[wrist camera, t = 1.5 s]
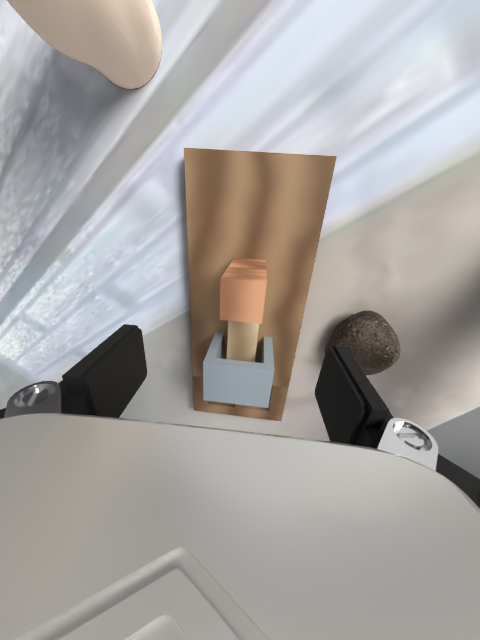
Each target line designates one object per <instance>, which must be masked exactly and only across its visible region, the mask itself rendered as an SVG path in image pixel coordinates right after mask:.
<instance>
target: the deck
mask: <svg viewBox="0 0 480 640" xmlns="http://www.w3.org/2000/svg"><path fill="white" fill-rule="evenodd" d="M335 161H336V156H320V155H302V154H284V153H266V152H249V151H231V150H213V149H195V148H184V162H185V189H186V216H187V242H188V269H189V296H190V323H191V349H192V376H193V403H194V410H196V411H204V412H212V413H220V414H228V415H236V416H244V417H252V418H260V419H268V420H276V421H281V419H282V414H283V410H284V405H285V400H286V395H287V391H288V386H289V381H290V376H291V371H292V367H293V362H294V357H295V352H296V348H297V343H298V338H299V333H300V328H301V324H302V319H303V314H304V309H305V305H306V300H307V295H308V290H309V285H310V281H311V276H312V271H313V266H314V262H315V257H316V252H317V247H318V242H319V238H320V233H321V228H322V223H323V219H324V214H325V209H326V204H327V199H328V195H329V190H330V185H331V180H332V176H333V171H334V166H335ZM234 258H245V259H256V260H266V275H267V286H266V294H265V302H264V311H263V319H262V324H259V330H258V339H257V347H256V356H255V362H257V363H261V355H262V347H263V340H264V337H272V344H273V358H274V376H273V382H272V388H271V394H270V400H269V406H268V408H263V407H255V406H247V405H239V404H230V403H222V402H214V401H206V400H204V399H203V362H204V359H205V357H206V354H207V352H208V349H209V347H210V344H211V342H212V339H213V337H214V335H215V332H224V336H223V359H227V341H228V321H227V320H220V283H221V277H222V275H223V274H224V272H225V271H226V269H227V268H228V266H229V265H230V263H231V262H232V260H233V259H234Z"/></svg>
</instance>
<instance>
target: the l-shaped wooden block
mask: <svg viewBox="0 0 480 640" xmlns="http://www.w3.org/2000/svg"><path fill="white" fill-rule="evenodd" d="M266 286H267V275H266V260H256V259H245V258H234V259H233V260H232V262H231V263H230V265H229V266H228V268H227V269H226V271H225V272H224V274H223V275H222V277H221V283H220V320H227V321H228V341H227V359H230V360H239V361H248V362H255V356H256V347H257V339H258V330H259V324H262V319H263V311H264V302H265V294H266Z"/></svg>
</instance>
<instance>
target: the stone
mask: <svg viewBox="0 0 480 640" xmlns="http://www.w3.org/2000/svg"><path fill="white" fill-rule="evenodd" d="M332 345H340V346H345V347H346V348H347V349H348V351H349V352H350V353H351V355H352V356H353V358H354V359H355V361H356V362H357V364H358V365H359V367H360V368H361V370H362V371H363V373H364V374H365V375H373V374H377V373H379V372H382V371H384V370H386V369H387V368H389V367H390V366H392V365H393V364H394V363H395V362H396V361H397V360H398V358H399V355H400V345H399V340H398V338H397V335H396V334H395V332H394V330H393V329H392V327H391V326H390V325H389V323H388V322H387V321H386V320H385V319H384V318H383V317H382V316H381V315H379V314H378V313H376V312H373V311H362V312H359V313H357V314H355V315H352V316H351V317H349V318H348V319H346V320H344V321H343V322H342V324H341V325H340V326H339V327H338V328H337V329H336V331H335V332H334V334H333V337H332V339H331V342H330V343H329V345H328V346H327V347H326V349H325V353H326V351H327V348H328V347H331V346H332Z"/></svg>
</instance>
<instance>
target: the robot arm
mask: <svg viewBox="0 0 480 640" xmlns="http://www.w3.org/2000/svg"><path fill="white" fill-rule="evenodd" d="M146 376H147V367H146V360H145V352H144V345H143V337H142V331H141V329H139V328H138V326H136V325H126V324H125V325H123V326H122V327H120V328H119V329H118V330H117V331H116V332H114V333H113V334H112V335H111V336H110V337H108V338H107V339H106V340H105V341H104V342H102V343H101V344H100V345H99V346H98V347H96V348H95V349H94V350H93V351H92V352H90V353H89V354H88V355H87V356H86V357H84V358H83V359H82V360H81V361H80V362H78V363H77V364H76V365H75V366H73V367H72V368H71V369H70V370H69V371H67V372H66V373H65V374H64V375H63V376H62V378H63V380H62V381H61V382H60V383H57V382H54V381H42V382H38V383H34V384H31V385H28V386H26V387H24V388H22V389H20V390H19V391H17V392H16V393H14V394H13V395H12V396H11V397H10V399H9V400H8V402H7V406H6V408H4V409H1V410H0V640H480V479H478V478H477V477H475V476H473V475H472V474H470V473H468V472H467V471H465V470H464V469H462V468H460V467H459V466H457V465H455V464H454V463H452V462H450V461H449V460H447V459H446V458H444V457H442V456H441V455H439V454H438V445H437V443H436V441H435V439H434V438H433V437H432V436H431V435H430V434H429V433H428V432H427V431H426V430H425V429H424V428H422V427H421V426H419V425H418V424H416V423H414V422H412V421H409V420H407V419H403V418H393V416H392V415H391V413H390V412H389V409H388V408H387V406H386V405H385V403H384V402H383V400H382V399H381V397H380V396H379V395H378V393H377V392H376V390H375V389H374V387H373V386H372V384H371V383H370V381H369V380H368V378H367V377H366V375H365V374H364V373H363V371H362V370H361V368H360V367H359V365H358V364H357V362H356V361H355V359H354V358H353V356H352V355H351V353H350V352H349V351H348V349H347V348H346V347H345V346H340V345H332V346H331V347H328V348H327V351H326V354H325V357H324V361H323V364H322V368H321V371H320V375H319V378H318V382H317V385H316V388H315V396H316V399H317V402H318V405H319V409H320V412H321V415H322V418H323V421H324V424H325V427H326V430H327V433H328V436H329V439H330V442H329V441H321V440H313V439H305V438H296V437H288V436H279V435H271V434H262V433H253V432H244V431H235V430H226V429H217V428H208V427H199V426H190V425H181V424H171V423H162V422H152V421H142V420H133V419H123V418H119V417H120V415H121V414H122V412H123V411H124V409H125V408H126V406H127V405H128V403H129V402H130V400H131V399H132V398H133V396H134V395H135V393H136V392H137V390H138V389H139V387H140V386H141V384H142V383H143V381H144V380H145V378H146Z"/></svg>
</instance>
